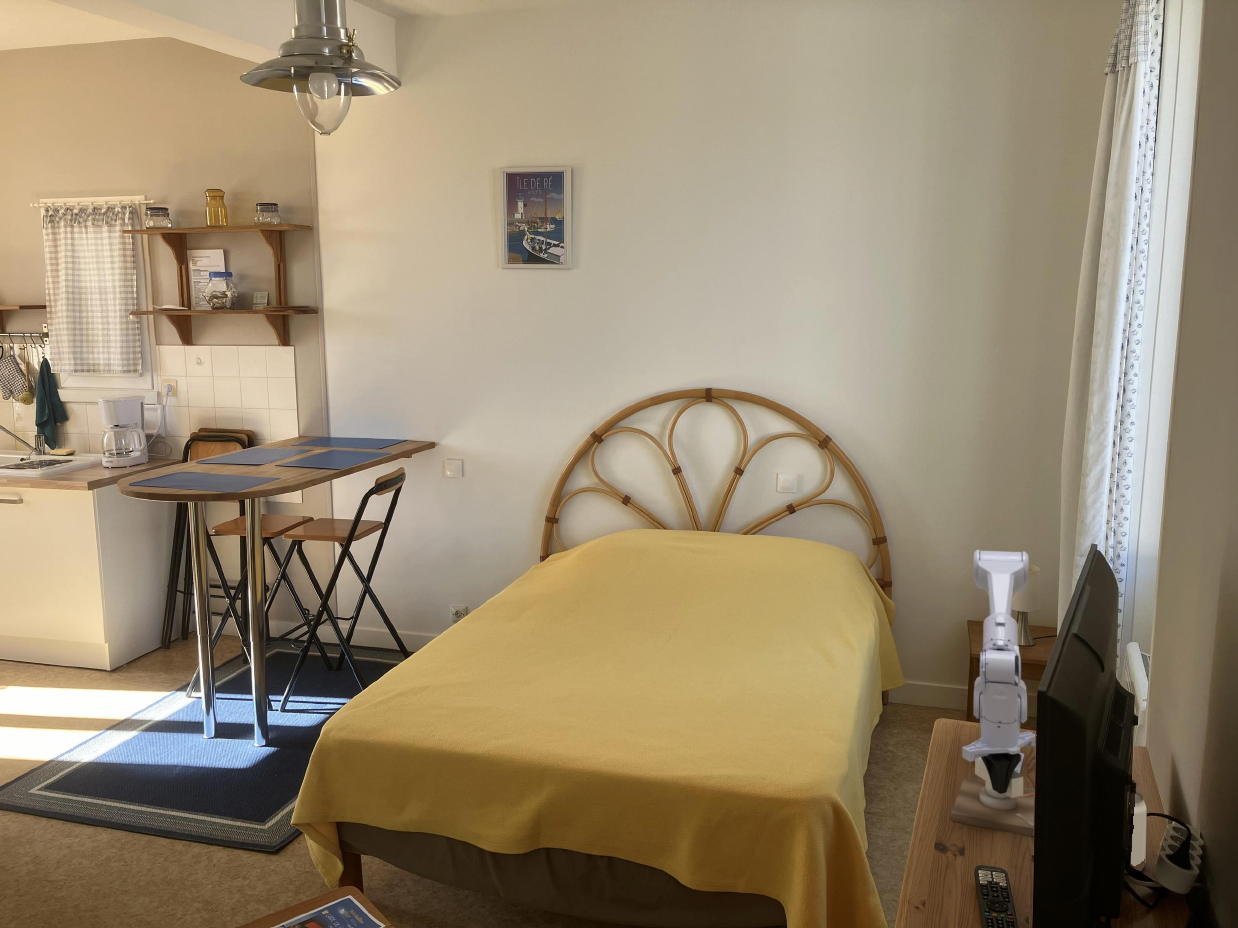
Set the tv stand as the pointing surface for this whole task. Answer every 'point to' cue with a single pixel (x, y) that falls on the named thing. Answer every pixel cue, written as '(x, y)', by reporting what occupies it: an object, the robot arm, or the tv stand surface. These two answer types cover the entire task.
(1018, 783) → the lock handle
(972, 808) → the base
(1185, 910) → the tv stand surface
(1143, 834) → the can
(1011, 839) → the tv stand surface
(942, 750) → the tv stand surface
